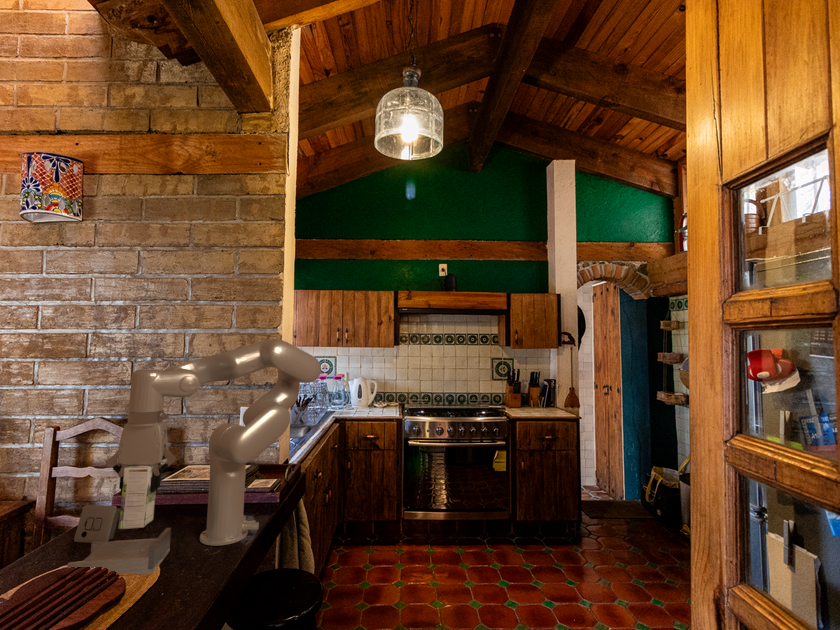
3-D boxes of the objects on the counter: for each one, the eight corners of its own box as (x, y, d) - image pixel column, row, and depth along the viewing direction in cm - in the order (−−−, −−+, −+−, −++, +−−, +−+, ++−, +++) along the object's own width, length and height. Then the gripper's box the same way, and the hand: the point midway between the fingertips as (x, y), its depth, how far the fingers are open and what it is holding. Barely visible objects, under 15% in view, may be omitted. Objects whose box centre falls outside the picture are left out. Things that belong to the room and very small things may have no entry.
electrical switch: (72, 542, 119) (78, 506, 121) (87, 536, 124) (93, 502, 126) (105, 544, 119) (110, 508, 120) (119, 538, 124) (124, 503, 125)
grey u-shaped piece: (169, 550, 116) (171, 527, 116) (152, 573, 104) (154, 547, 104) (92, 556, 112) (94, 531, 112) (65, 580, 100) (67, 553, 101)
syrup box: (129, 522, 111) (133, 462, 113) (154, 520, 112) (158, 461, 114) (117, 529, 105) (123, 467, 107) (144, 528, 106) (149, 466, 108)
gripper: (186, 416, 117) (181, 485, 115) (114, 416, 113) (108, 488, 112) (177, 420, 110) (172, 494, 108) (99, 420, 106) (93, 497, 104)
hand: (139, 490), depth 110 cm, fingers closed on syrup box, 6 cm apart
